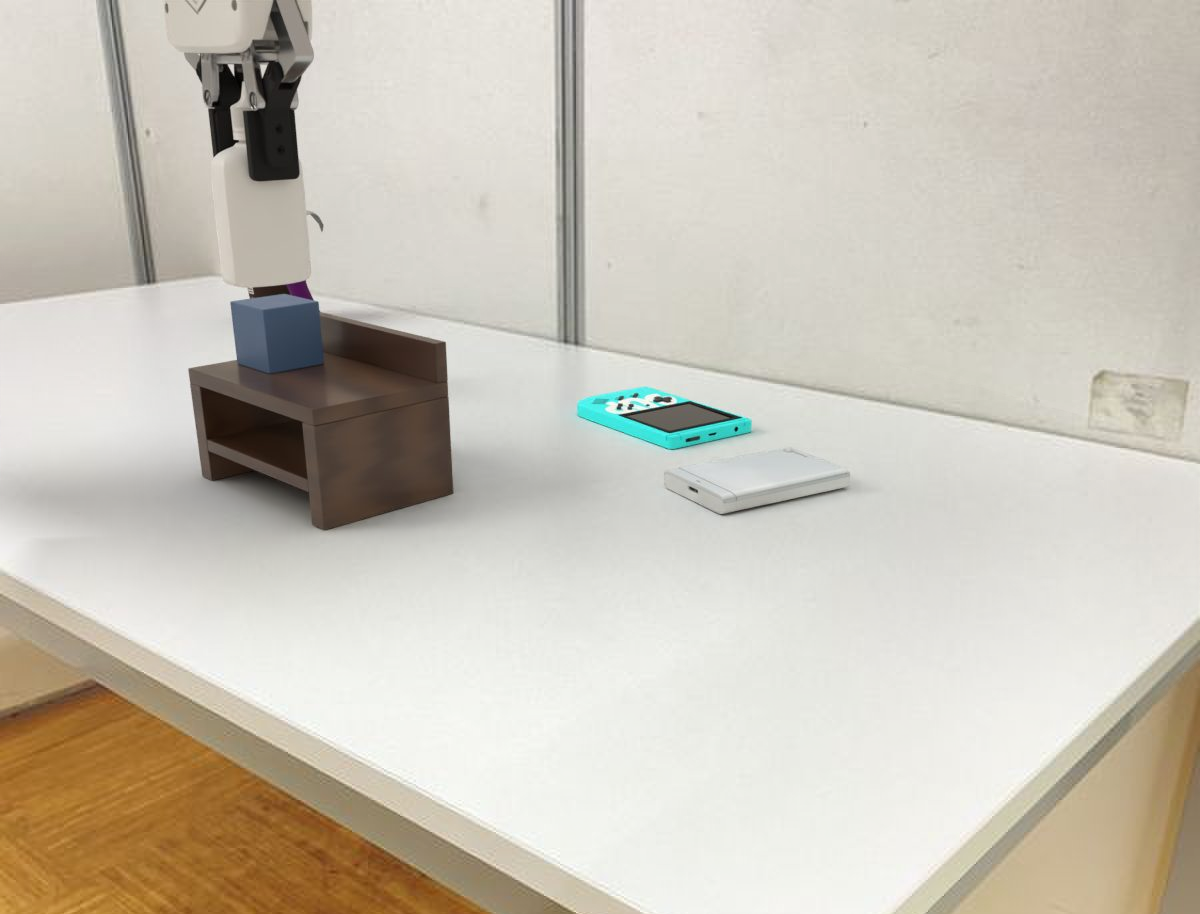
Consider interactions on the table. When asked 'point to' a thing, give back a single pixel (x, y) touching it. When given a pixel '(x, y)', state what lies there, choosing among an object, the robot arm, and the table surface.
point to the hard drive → (755, 479)
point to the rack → (335, 422)
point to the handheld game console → (662, 417)
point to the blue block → (277, 333)
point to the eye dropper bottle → (257, 218)
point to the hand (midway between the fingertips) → (257, 174)
